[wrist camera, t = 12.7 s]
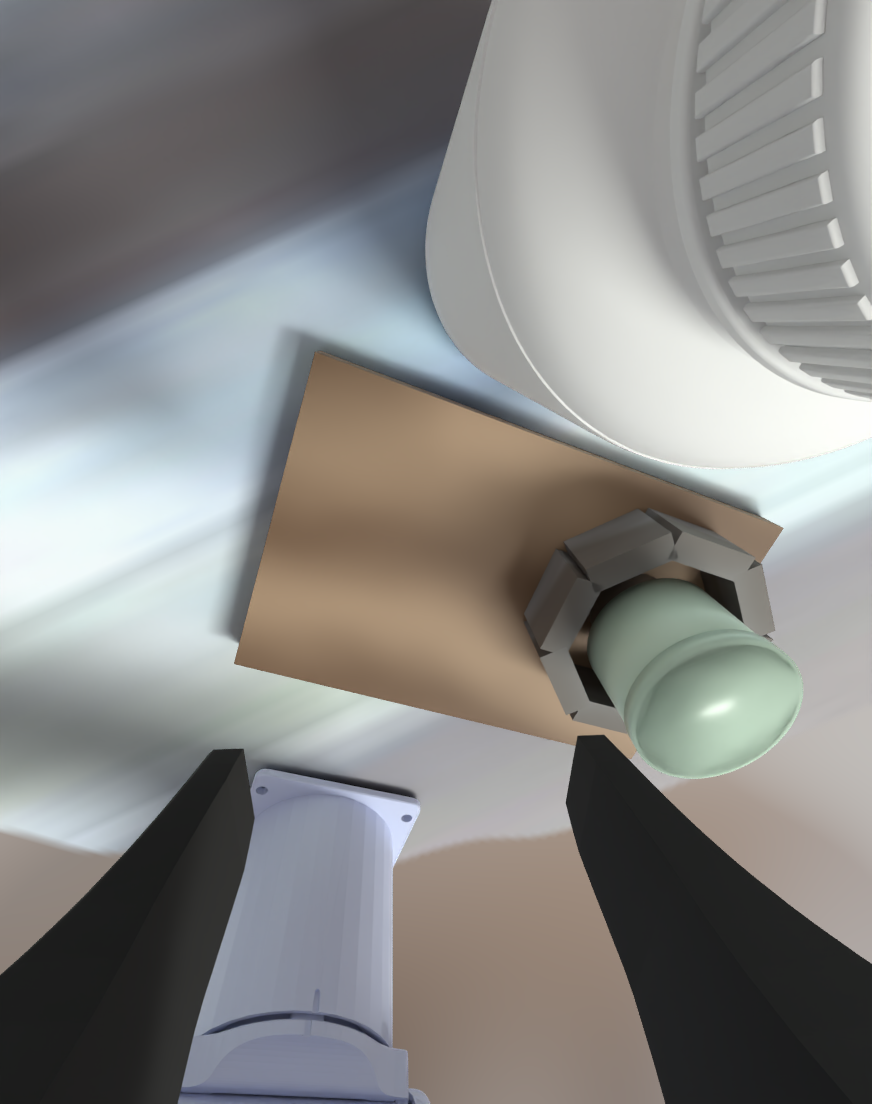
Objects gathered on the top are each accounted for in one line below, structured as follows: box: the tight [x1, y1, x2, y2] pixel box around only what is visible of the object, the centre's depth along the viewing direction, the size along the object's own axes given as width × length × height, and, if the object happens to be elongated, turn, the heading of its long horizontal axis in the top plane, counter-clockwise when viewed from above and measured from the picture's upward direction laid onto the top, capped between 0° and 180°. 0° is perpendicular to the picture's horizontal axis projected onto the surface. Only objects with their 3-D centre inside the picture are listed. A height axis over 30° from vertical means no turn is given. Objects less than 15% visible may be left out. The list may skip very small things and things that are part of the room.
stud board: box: [234, 351, 783, 759], centre depth 19 cm, size 12×18×4 cm, turn 70°
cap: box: [587, 578, 803, 779], centre depth 16 cm, size 5×5×4 cm
